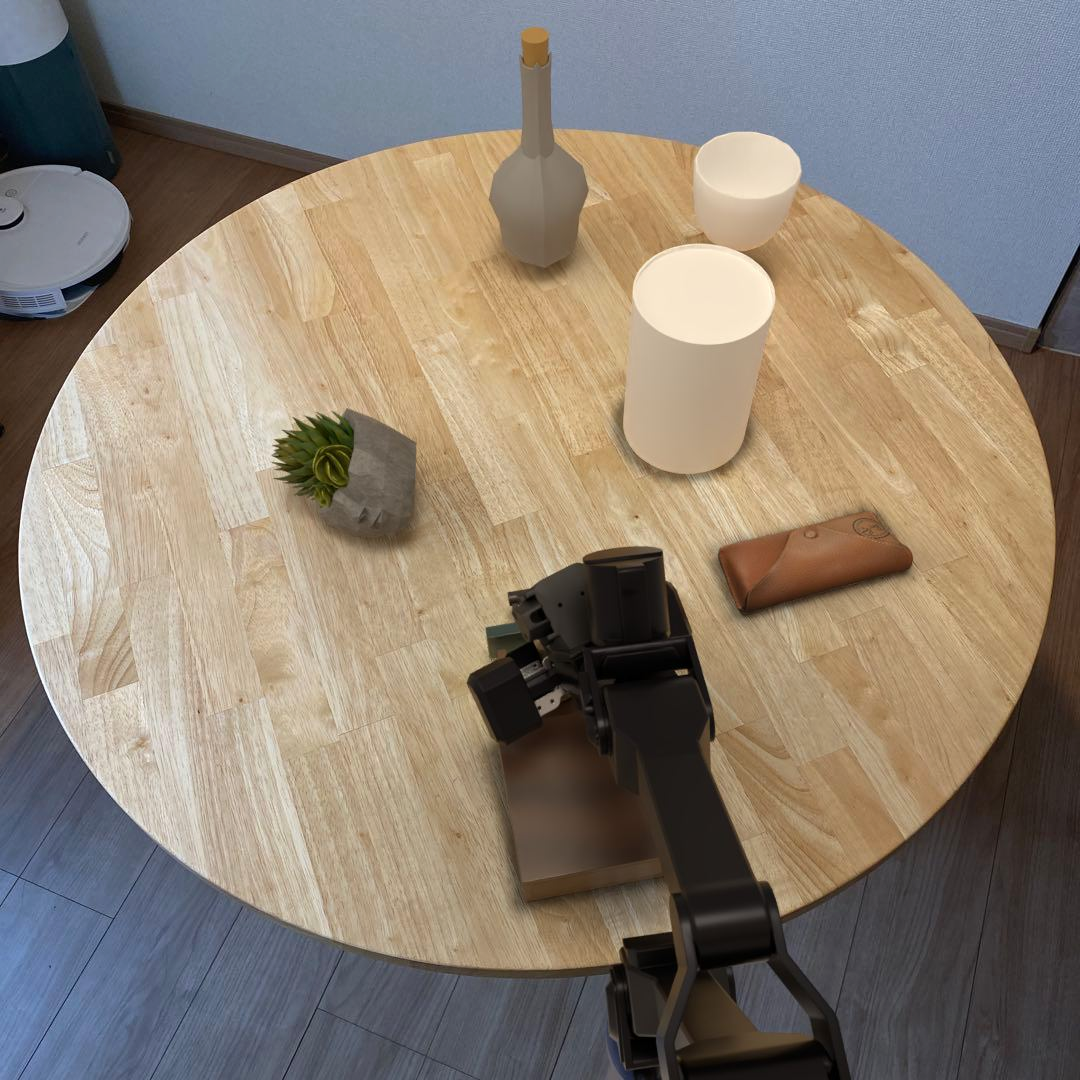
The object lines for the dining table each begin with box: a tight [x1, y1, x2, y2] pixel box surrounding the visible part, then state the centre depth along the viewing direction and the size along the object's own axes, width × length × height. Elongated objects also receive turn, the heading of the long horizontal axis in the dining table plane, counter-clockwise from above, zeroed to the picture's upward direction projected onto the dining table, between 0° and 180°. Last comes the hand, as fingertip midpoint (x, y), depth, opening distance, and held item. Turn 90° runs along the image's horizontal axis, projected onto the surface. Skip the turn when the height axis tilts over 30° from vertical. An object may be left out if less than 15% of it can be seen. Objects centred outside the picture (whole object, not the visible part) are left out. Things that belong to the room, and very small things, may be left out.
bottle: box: [488, 26, 590, 269], centre depth 119 cm, size 11×11×30 cm
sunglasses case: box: [717, 511, 914, 615], centre depth 105 cm, size 18×7×7 cm, turn 107°
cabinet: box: [497, 712, 664, 903], centre depth 91 cm, size 14×13×6 cm
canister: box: [622, 243, 776, 475], centre depth 108 cm, size 14×14×20 cm
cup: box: [692, 131, 803, 252], centre depth 122 cm, size 12×12×17 cm
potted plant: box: [270, 407, 417, 538], centre depth 107 cm, size 12×13×15 cm
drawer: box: [484, 588, 583, 719], centre depth 98 cm, size 17×11×4 cm
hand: (547, 637), depth 93 cm, fingers closed on sprinkles bottle, 4 cm apart
